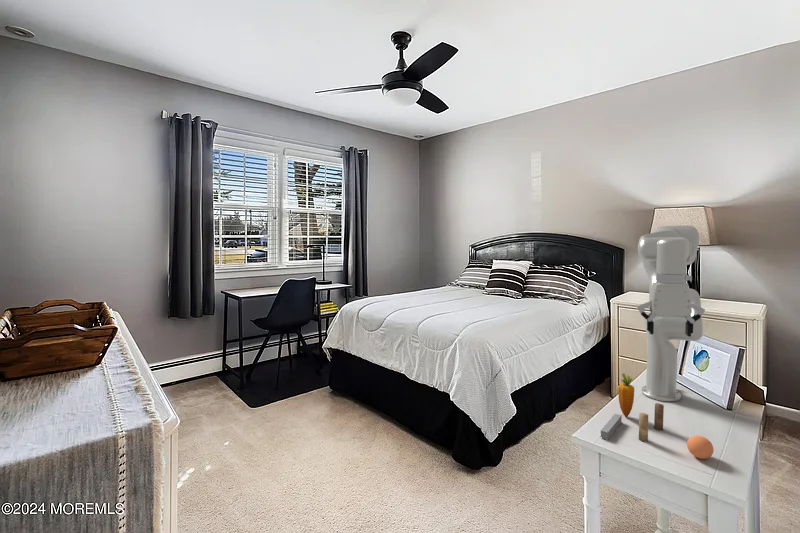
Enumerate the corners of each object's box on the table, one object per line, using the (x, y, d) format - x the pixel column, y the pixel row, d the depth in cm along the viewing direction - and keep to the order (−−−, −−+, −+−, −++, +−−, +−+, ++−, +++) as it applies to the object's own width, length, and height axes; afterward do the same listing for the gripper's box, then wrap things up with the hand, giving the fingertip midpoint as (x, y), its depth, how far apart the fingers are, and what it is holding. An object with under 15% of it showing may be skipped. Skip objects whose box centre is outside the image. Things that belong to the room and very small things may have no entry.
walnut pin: (655, 425, 130) (655, 402, 129) (663, 428, 128) (664, 404, 127) (653, 428, 128) (653, 405, 127) (662, 431, 126) (662, 407, 125)
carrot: (636, 420, 134) (637, 377, 132) (620, 419, 135) (621, 377, 133) (631, 413, 138) (631, 372, 137) (615, 412, 139) (616, 371, 138)
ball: (688, 448, 117) (689, 429, 116) (714, 456, 113) (715, 436, 112) (684, 457, 113) (685, 437, 112) (711, 466, 108) (712, 445, 108)
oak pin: (639, 436, 124) (640, 412, 123) (648, 439, 122) (649, 414, 122) (637, 439, 122) (638, 415, 121) (646, 442, 121) (647, 417, 120)
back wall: (614, 420, 134) (615, 413, 134) (621, 422, 133) (621, 415, 133) (600, 437, 124) (600, 430, 124) (607, 440, 123) (607, 432, 123)
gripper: (701, 278, 121) (699, 333, 123) (636, 277, 128) (635, 329, 129) (709, 281, 114) (707, 339, 116) (640, 280, 121) (639, 335, 122)
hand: (669, 334), depth 123 cm, fingers open, 9 cm apart
